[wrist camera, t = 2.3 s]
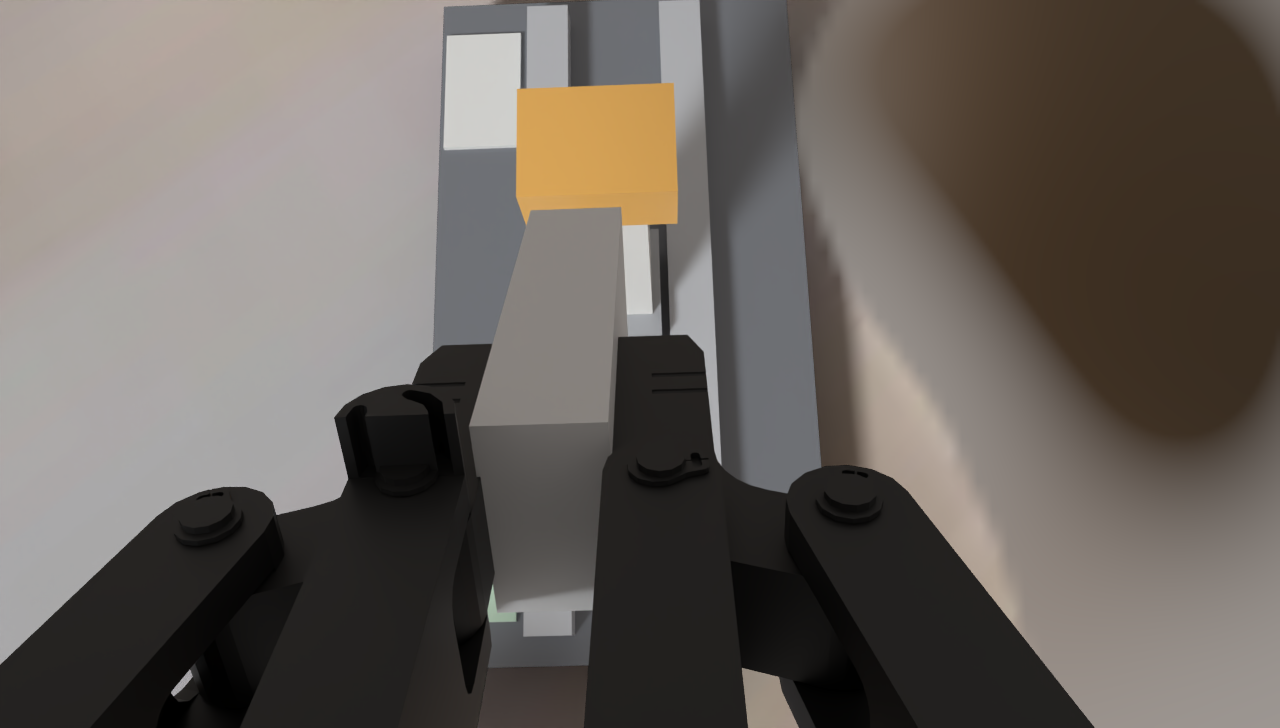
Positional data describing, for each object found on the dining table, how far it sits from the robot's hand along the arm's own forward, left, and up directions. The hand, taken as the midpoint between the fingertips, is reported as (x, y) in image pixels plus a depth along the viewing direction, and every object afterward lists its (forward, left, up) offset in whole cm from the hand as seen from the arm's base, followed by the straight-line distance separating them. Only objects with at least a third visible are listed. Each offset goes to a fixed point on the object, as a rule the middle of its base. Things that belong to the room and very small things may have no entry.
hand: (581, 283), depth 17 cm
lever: (-5, +3, -18) cm, 19 cm away
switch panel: (-5, +3, -22) cm, 23 cm away
